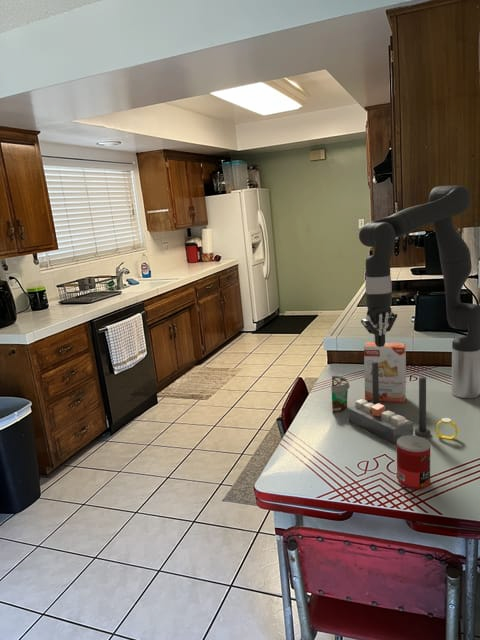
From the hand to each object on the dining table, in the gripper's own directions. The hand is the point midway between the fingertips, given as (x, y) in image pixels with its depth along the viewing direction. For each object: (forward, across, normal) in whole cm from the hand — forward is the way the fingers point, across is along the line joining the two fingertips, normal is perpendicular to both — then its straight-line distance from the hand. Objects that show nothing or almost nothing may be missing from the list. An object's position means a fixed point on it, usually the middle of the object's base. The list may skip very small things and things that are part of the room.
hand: (380, 346), depth 147 cm
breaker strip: (+27, +2, 0) cm, 27 cm away
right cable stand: (+27, -6, +10) cm, 30 cm away
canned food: (+27, +16, +27) cm, 42 cm away
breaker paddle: (+22, +2, 0) cm, 22 cm away
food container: (+27, 0, -21) cm, 34 cm away
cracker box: (+28, -17, -17) cm, 37 cm away
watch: (+27, -10, +16) cm, 33 cm away
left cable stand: (+27, -6, -10) cm, 30 cm away
